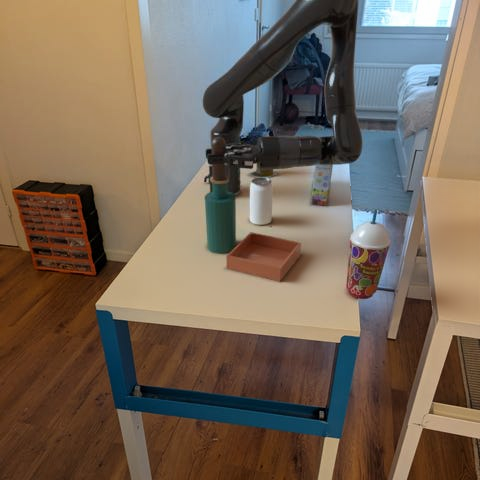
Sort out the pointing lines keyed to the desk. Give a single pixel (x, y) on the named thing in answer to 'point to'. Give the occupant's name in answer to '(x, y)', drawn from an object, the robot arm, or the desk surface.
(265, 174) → the condiment
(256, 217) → the can
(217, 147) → the stopper
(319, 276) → the desk surface
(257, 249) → the dish
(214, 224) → the flask
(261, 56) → the robot arm
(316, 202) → the snack box
